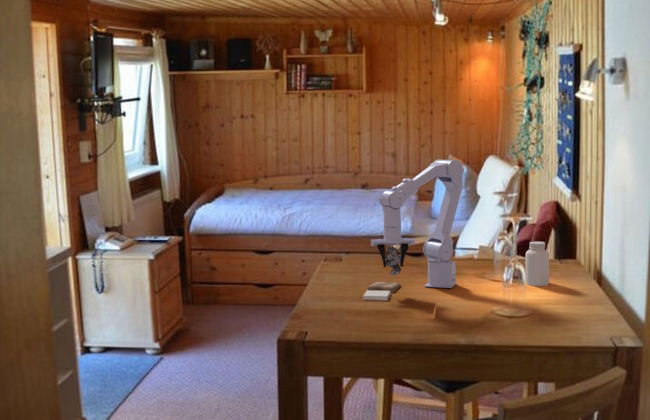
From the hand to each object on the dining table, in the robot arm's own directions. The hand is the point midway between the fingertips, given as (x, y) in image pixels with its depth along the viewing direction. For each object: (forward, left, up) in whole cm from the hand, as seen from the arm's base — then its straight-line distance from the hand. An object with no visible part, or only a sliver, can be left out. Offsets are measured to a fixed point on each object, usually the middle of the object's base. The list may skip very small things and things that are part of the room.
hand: (393, 266), depth 268 cm
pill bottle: (-44, -28, -10) cm, 53 cm away
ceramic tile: (+4, +5, -10) cm, 12 cm away
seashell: (0, 0, -3) cm, 3 cm away
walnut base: (+5, -6, -10) cm, 13 cm away
